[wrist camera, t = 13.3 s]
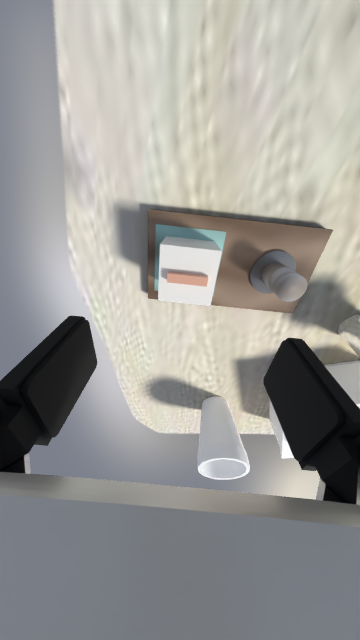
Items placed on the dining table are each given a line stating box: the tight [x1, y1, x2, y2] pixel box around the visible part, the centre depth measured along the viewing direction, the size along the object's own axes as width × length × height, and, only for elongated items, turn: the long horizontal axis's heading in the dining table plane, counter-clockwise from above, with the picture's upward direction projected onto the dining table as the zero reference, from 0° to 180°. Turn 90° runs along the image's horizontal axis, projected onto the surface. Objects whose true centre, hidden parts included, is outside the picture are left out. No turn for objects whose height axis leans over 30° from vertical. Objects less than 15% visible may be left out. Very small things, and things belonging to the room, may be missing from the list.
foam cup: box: [197, 396, 250, 480], centre depth 39 cm, size 10×9×13 cm
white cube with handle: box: [158, 236, 222, 306], centre depth 23 cm, size 6×6×7 cm
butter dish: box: [269, 360, 360, 458], centre depth 35 cm, size 18×18×16 cm
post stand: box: [148, 209, 333, 313], centre depth 24 cm, size 12×23×8 cm, turn 85°
